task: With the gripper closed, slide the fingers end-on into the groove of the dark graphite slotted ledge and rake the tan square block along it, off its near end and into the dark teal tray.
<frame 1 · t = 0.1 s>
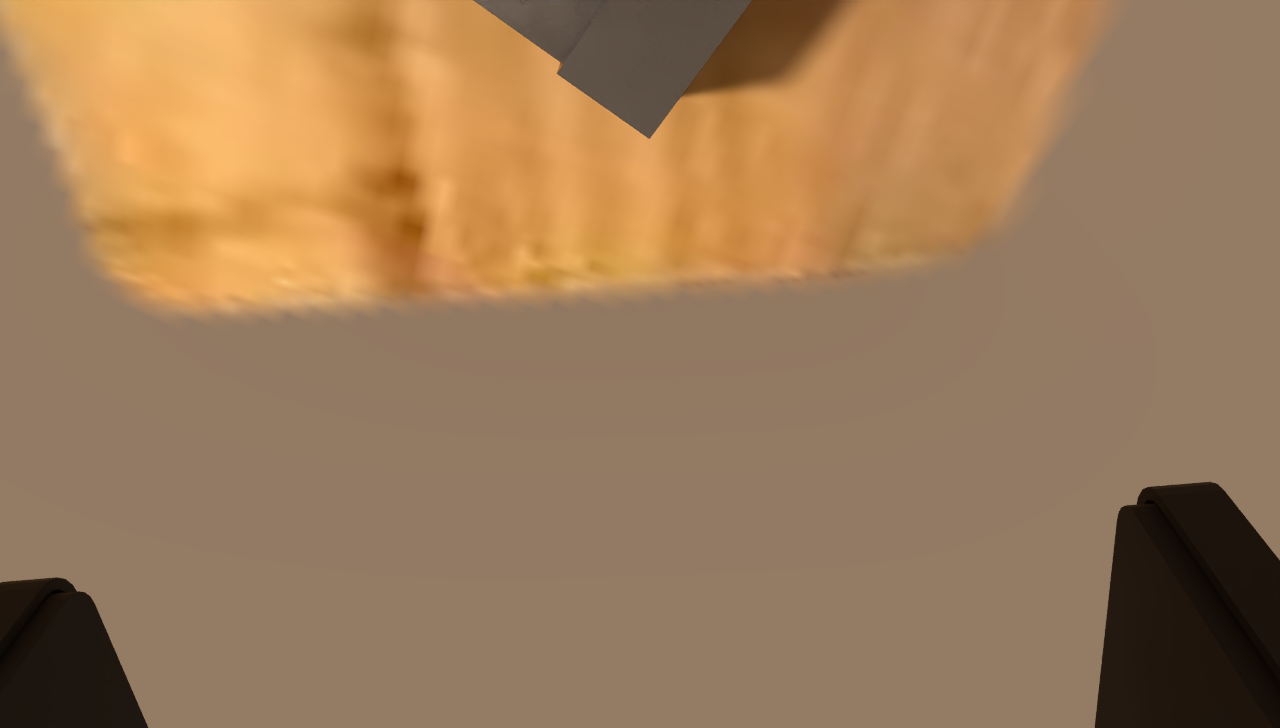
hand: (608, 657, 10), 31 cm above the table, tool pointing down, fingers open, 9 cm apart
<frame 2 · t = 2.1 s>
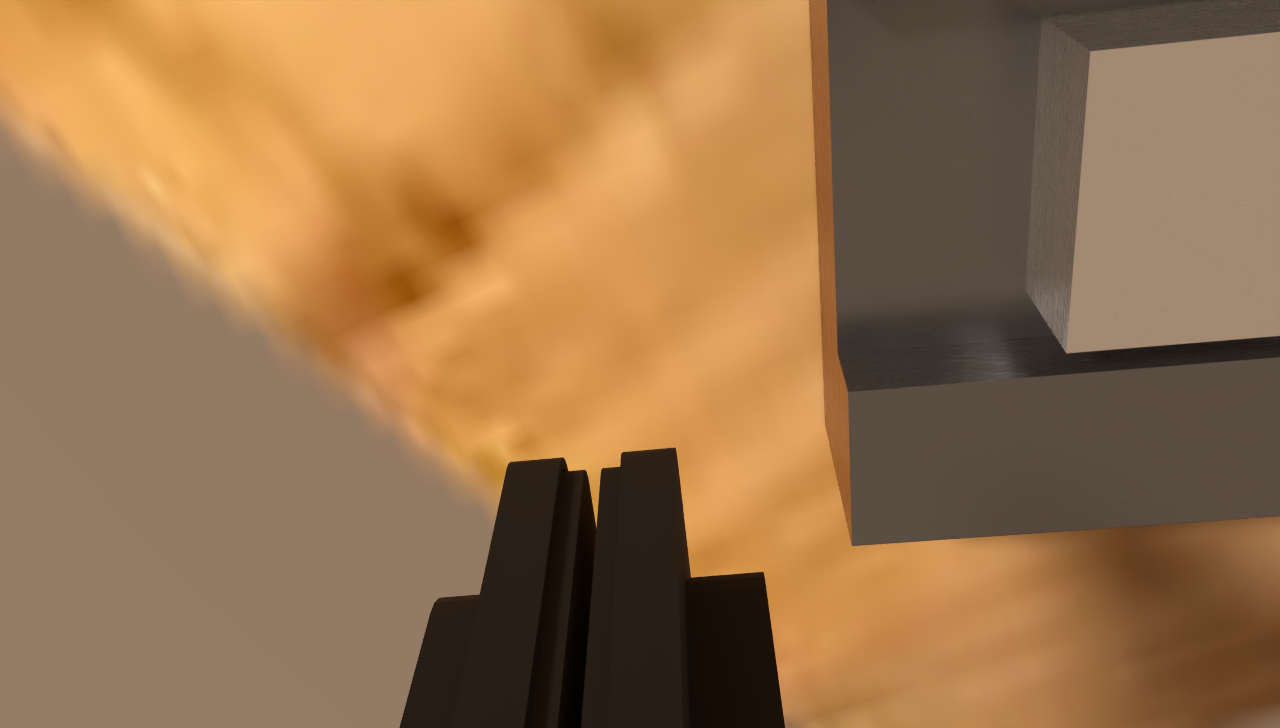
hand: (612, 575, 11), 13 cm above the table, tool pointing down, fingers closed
tan square block: (1179, 147, 19), point 3 cm above the table, touching slotted ledge
slotted ledge: (1171, 95, 22), on the table
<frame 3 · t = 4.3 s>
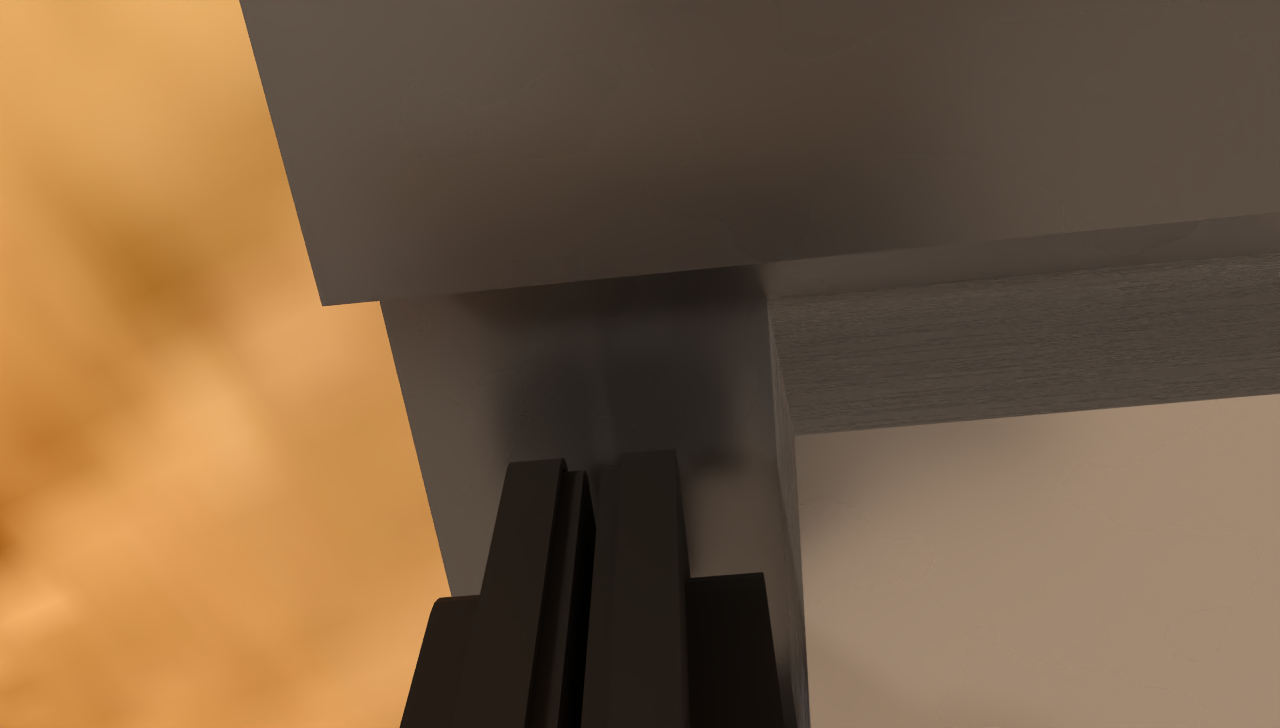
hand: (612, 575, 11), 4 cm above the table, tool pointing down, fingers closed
tan square block: (1017, 491, 12), point 3 cm above the table, touching gripper
slotted ledge: (1011, 351, 14), on the table
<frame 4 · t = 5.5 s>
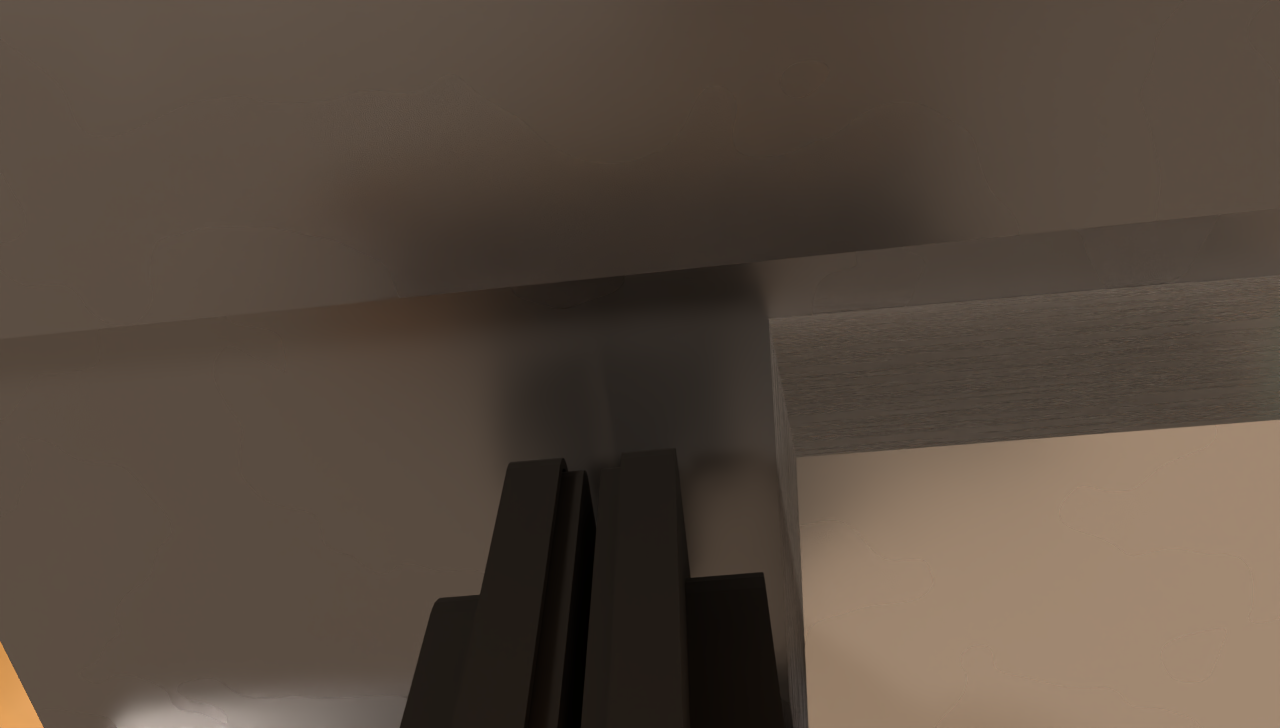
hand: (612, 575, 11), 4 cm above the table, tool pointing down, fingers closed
tan square block: (1015, 508, 12), point 3 cm above the table, touching gripper
slotted ledge: (598, 388, 15), on the table
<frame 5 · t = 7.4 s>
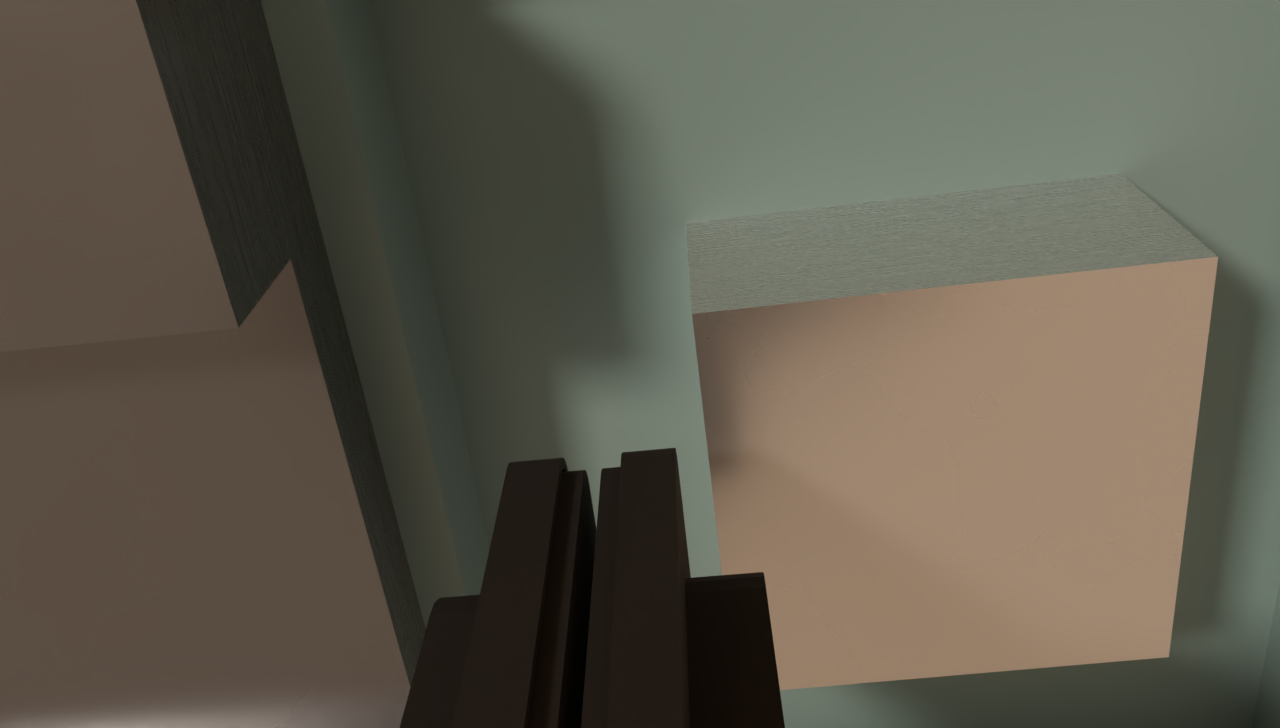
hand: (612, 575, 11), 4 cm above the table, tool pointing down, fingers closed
tray: (878, 372, 14), on the table
tan square block: (950, 499, 12), point 3 cm above the table, tilted 180°, touching tray
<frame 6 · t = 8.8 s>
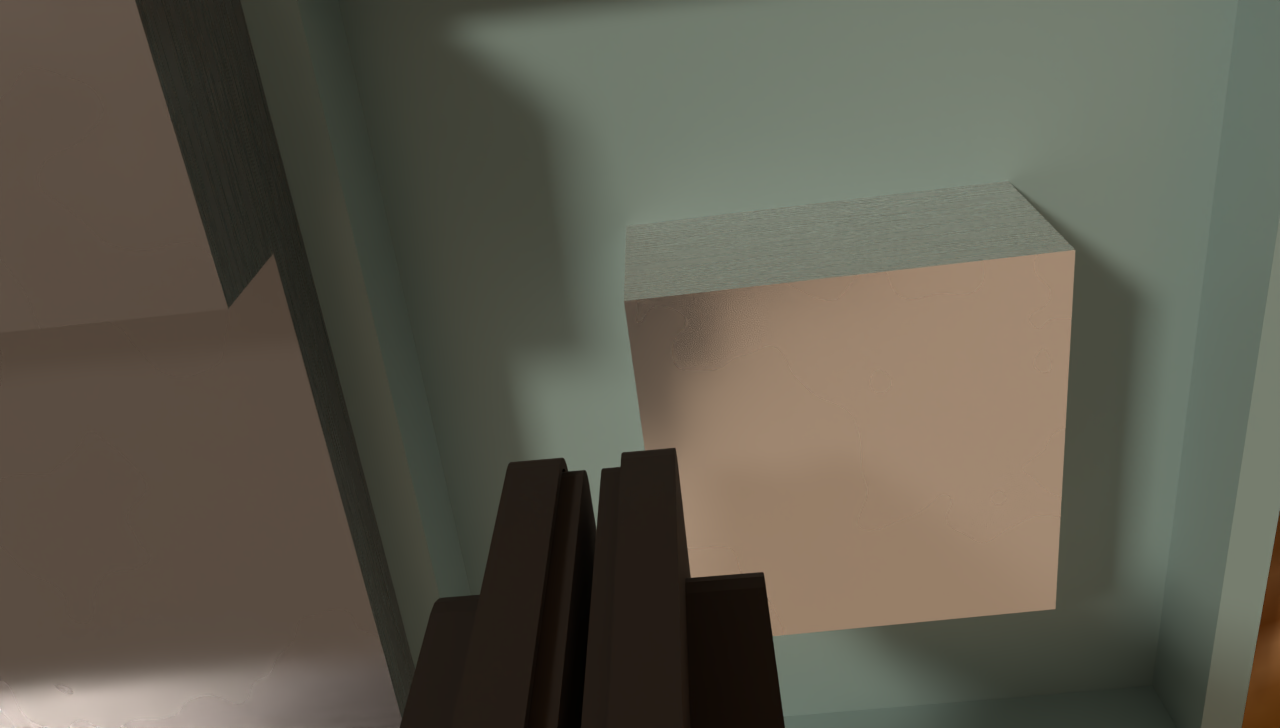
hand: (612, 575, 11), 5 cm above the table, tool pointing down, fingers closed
tray: (803, 361, 16), on the table
tan square block: (855, 466, 14), point 3 cm above the table, tilted 180°, touching tray
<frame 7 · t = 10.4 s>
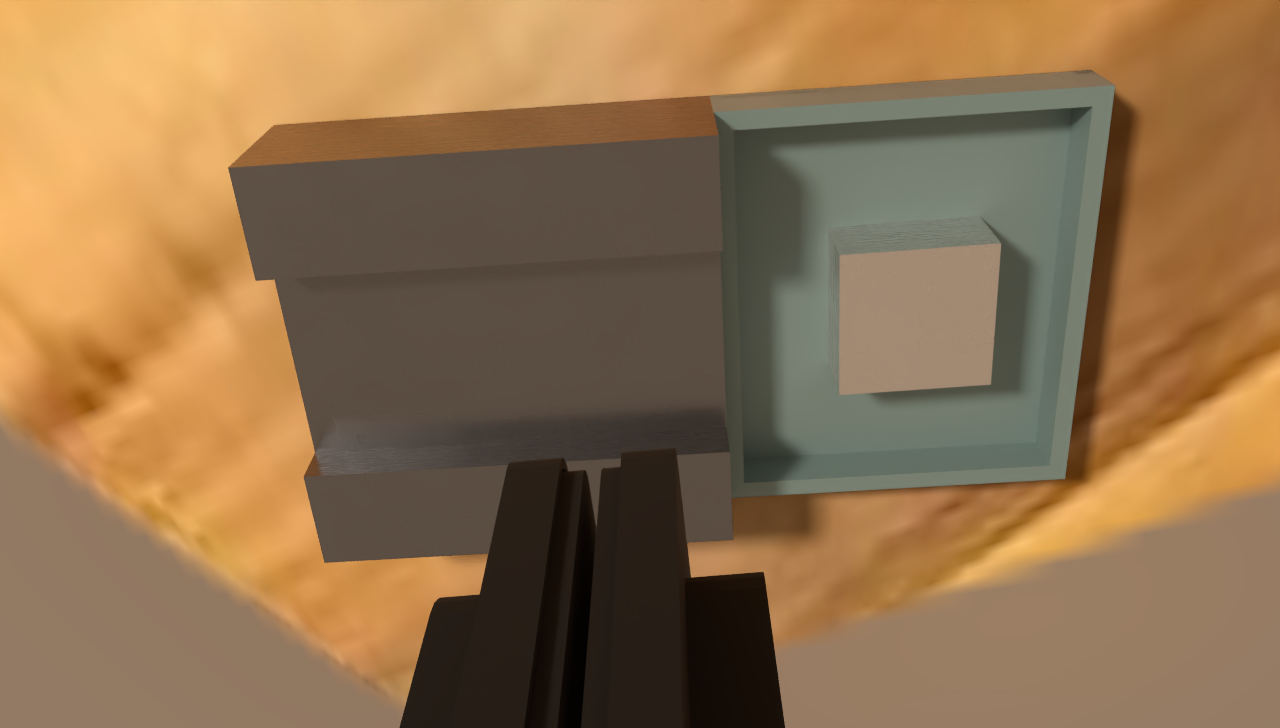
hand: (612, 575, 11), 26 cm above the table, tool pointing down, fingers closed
tray: (891, 286, 38), on the table
tan square block: (917, 321, 36), point 3 cm above the table, tilted 180°, touching tray
slotted ledge: (516, 309, 39), on the table
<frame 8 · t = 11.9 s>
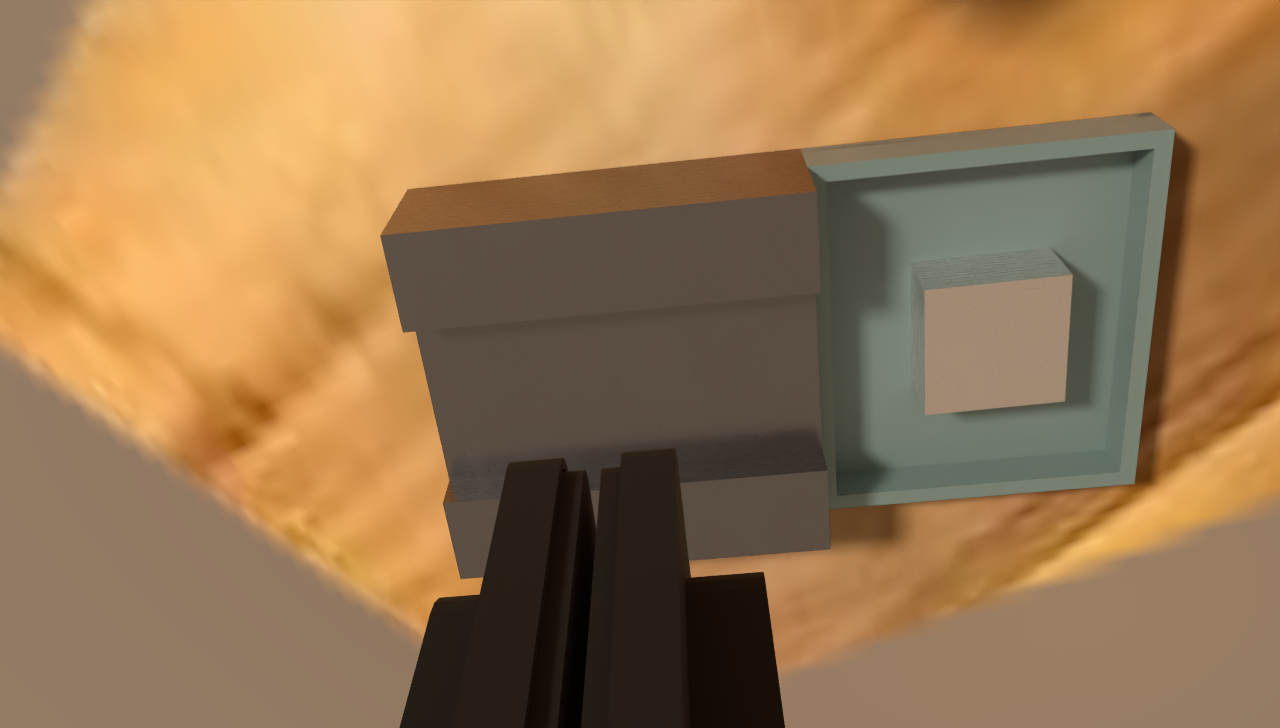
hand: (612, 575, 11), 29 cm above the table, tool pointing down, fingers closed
tray: (968, 312, 42), on the table
tan square block: (996, 347, 39), point 3 cm above the table, tilted 180°, touching tray
slotted ledge: (624, 344, 43), on the table
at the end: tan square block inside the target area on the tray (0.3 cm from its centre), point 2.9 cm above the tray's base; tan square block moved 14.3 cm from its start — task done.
